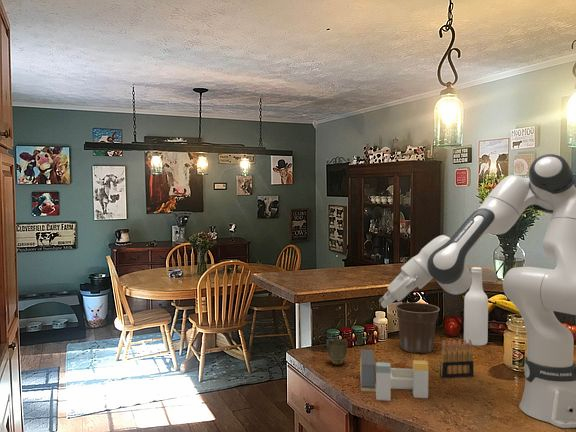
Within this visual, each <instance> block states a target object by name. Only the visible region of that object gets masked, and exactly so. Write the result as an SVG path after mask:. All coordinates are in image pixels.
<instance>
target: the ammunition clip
mask: <svg viewBox="0 0 576 432" xmlns="http://www.w3.org/2000/svg"><path fill="white" fill-rule="evenodd" d="M441 345H442V346H441V356H440V358H441V360H440V371H439V376H440V377H441V378H442V379H447V378H449V379H451V378H468V377H469V378H470V377H471V378H472V377H475V376H474V375H475V374H474V373H475V372H474V369H475V368H474V358H473V356H474V353H473V345H472V342H471V340H469V343H468V344H467V343H466V340H464V339H463V344H462V341H461V339H459V340H458V341H457V342H456V340H455V339H454V340H453V342H452V343H451V339H448V341H447V343H446V340H443V341H442V344H441Z"/></svg>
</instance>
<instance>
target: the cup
mask: <svg viewBox="0 0 576 432" xmlns="http://www.w3.org/2000/svg"><path fill="white" fill-rule="evenodd" d="M325 343H326V350H327V356H328V358H329V359H330V360H331V363H332V364H333V366H334V365H335V366H340V365H342V364H343V360H344V359H346V356H347V351H348V345H349V344H348V341H347V339H345V340H344V338H343V339H342V340H341V338H336V339H335V338H332V339H331V338H329V339H326V342H325Z"/></svg>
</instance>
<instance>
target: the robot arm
mask: <svg viewBox="0 0 576 432" xmlns="http://www.w3.org/2000/svg"><path fill="white" fill-rule="evenodd" d="M575 182H576V179H575V177H574V174H573V172H572V169H571V167H570V165H569V163H568V161H566V160H565V158H563V157H562V156H560V155H558V154H554V153H551V154H550V153H549V154H543V155H541V156H539V157H537V158H535V159H534V160H533V162H532V163H531V165H530V166H529V171H528V177H523V176H521V175H517V174H511V175H507V176H505V177H504V178H503V179H501V180H500V181H499V182H498V183H497V184H496V185H495V187H494V188H492V190H491V191H490V192H489V193H488V195H487V196H486V198H484V200H483V202H482V203H481V204H480V205H479V207H478V208H477V209H476V210H475V211H473V212H472V213H471V214H470V215H469V217H468V218H467V219H466V220H465V221H464V222H463V223H462V224H461V225H460V227H459V228H458V229H457V230H456V231H455V233H454V234H453V235H452V236H451V237H450V236H448V235H445V234H441V235H438V236H436V237H435V238H433V239H432V240H430V241H429V242H427V244H426V245H424V246H423V247H422V248H421V250H420V251H419V252H418V254H416V255H415V256H413V257H411V258H410V259H409V260H408V261H407V262H406V263H404V265H402V266H401V267H400V270H401V272H400V273H399V274H398V275H397V276H396V277H395V278H394V279H393V280H392V281H391V282H390V284H389V285H388V286H387V291H386V292H385V294H384V295H383V296H382V297H381V298H379V300H378V302H379V303H380V306H381V307H382V308H383V309H386V308H387V307H388V306H389V305H391V304H392V303H394V302H396V301H397V302H401V301H403V300H404V298H406V297H407V296H408V295H409V294H410V293H411V292H412V291H413V290H415V289H416V288H418V289H419V290H421V289H423V288H424V287H425V286H426V285H427V284H428V283H429V282H430V281H432V280H433V279H434V280H435V281H436V282H437V284H438V285H439V286H440V288H442V289H443V290H444V291H445V292H446V293H448V294H450V295H455V296H458V295H462V294H465V292H466V293H467V292H468V291H469V290H470V286H471V284H472V277H471V273H472V272H471V270H470V269H469V267H468V266H467V264H466V261H467V256H468V254H469V253H470V252H471V251H472V249H473V248H474V247H475V246H476V244H478V242H479V241H480V239H482V237H483V236H485V235H486V234H490V235H494V236H495V235H497V236H498V235H504V234H506V233H507V232H508V231H510V230H511V229H512V227H513V226H514V225H515V224H516V223H517V221H518V219H520V216H522V214H523V213H524V211H525V210H526V209H527V208H528V207H529V208H530V209H532V210H535V211H540V212H542V213H546V214H549V215H550V214H551V216H550V219H549V223H548V226H547V229H546V231H545V235H544V238H543V241H542V247H543V251H544V252H545V254H546V255H547V256H548V257H549V258H551V259H552V260H554V261H555V262H556V266H555V268H544V267H536V266H535V267H534V266H517V267H512V268H510V269H509V270H507V272H506V274H505V275H504V277H503V279H502V289H503V293H504V295H505V297H506V298H507V299H508V300H509V301H510V302H511V303H512V304H513V305H514V306H515V307H516V309H517V311H518V312H519V314H520V316H521V318H522V320H523V324H524V326H525V327H524V328H525V332H526V348H527V349H526V356H525V360H524V371H523V372H524V377H525V383H524V386H523V387H524V390H523V392H522V397H521V400H520V402H519V405H518V406H519V409H520V410H521V411H522V412H523V413H524V414H525V415H527V416H530V417H531V418H534V419H536V420H539V421H542V422H546V423H549V424H552V425H553V426H556V427H557V428H558V427H559V428H562V429H571V428H573V429H574V428H576V362H574V344H575V343H574V341H575V340H574V336H573V333H572V332H571V330H570V329H569V328H568V327H567V326H565V325H564V324H562V322H560V321H559V320H558V318H557V316H556V315H555V313H554V312H557V313H558V312H559V313H563V314H568V315H573V316H576V186H575Z"/></svg>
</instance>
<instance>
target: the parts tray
mask: <svg viewBox="0 0 576 432" xmlns="http://www.w3.org/2000/svg"><path fill="white" fill-rule="evenodd" d="M391 389H395V390H413V368H402V367H401V368H400V367H399V368H398V367H391Z"/></svg>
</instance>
